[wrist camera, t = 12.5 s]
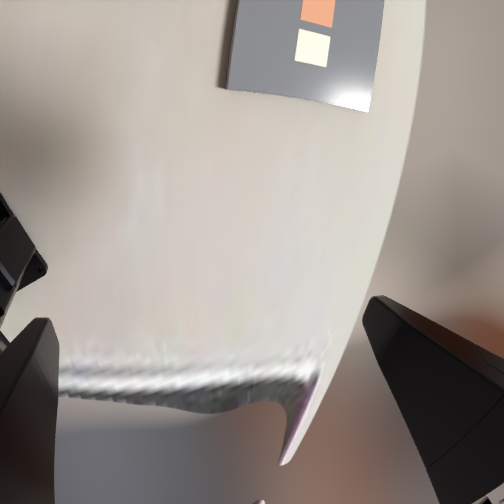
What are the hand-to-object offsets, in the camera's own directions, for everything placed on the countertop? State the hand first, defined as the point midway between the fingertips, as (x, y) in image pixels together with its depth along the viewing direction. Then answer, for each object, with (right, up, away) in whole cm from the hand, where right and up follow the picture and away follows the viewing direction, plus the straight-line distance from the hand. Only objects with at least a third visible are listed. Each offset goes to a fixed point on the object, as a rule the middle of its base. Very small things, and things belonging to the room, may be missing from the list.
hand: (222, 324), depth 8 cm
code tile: (+4, +15, +7) cm, 17 cm away
